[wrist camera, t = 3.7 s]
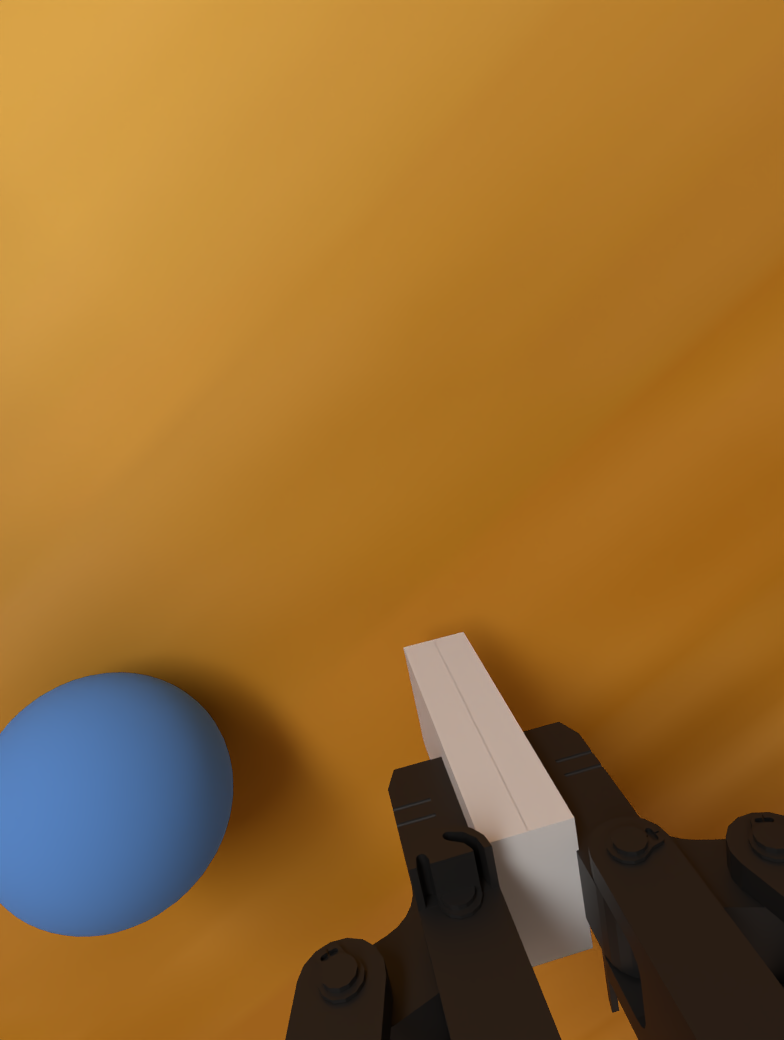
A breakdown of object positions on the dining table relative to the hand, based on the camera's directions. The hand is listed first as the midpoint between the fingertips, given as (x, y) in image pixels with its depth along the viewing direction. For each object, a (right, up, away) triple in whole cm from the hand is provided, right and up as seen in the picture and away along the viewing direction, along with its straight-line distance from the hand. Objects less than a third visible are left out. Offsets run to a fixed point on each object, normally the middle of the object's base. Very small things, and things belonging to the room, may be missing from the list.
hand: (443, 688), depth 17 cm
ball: (-8, -2, -1) cm, 8 cm away
